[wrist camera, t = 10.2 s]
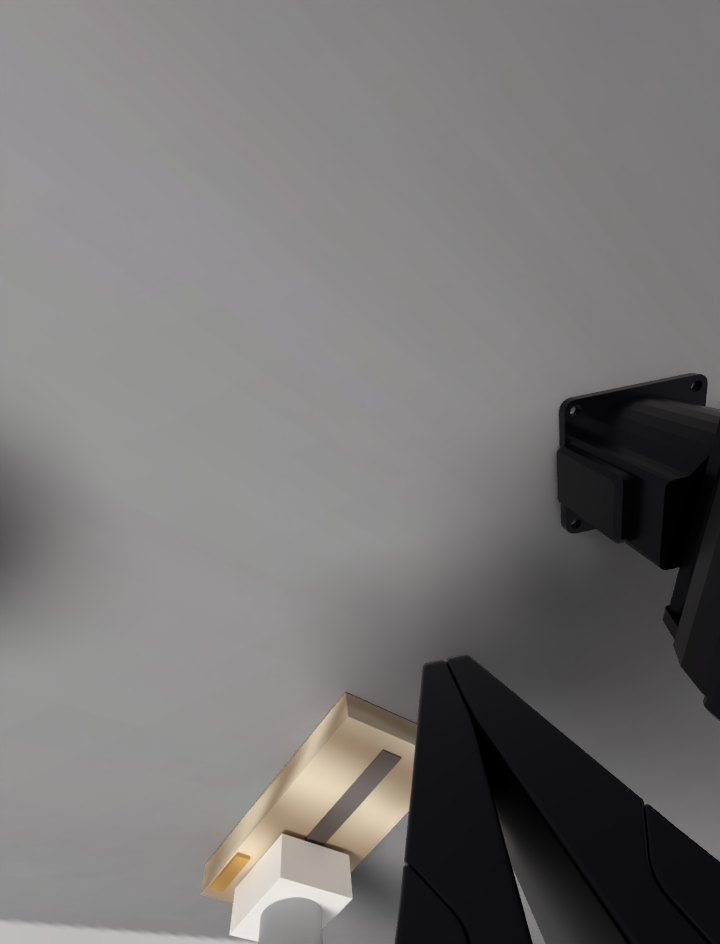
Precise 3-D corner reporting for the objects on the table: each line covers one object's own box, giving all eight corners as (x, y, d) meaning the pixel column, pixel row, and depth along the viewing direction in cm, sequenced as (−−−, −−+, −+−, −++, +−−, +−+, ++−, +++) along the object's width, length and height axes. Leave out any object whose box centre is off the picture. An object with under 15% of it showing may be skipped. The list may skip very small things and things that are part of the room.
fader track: (345, 692, 23) (348, 719, 22) (446, 737, 25) (455, 765, 24) (205, 863, 27) (199, 898, 25) (304, 892, 29) (304, 926, 27)
